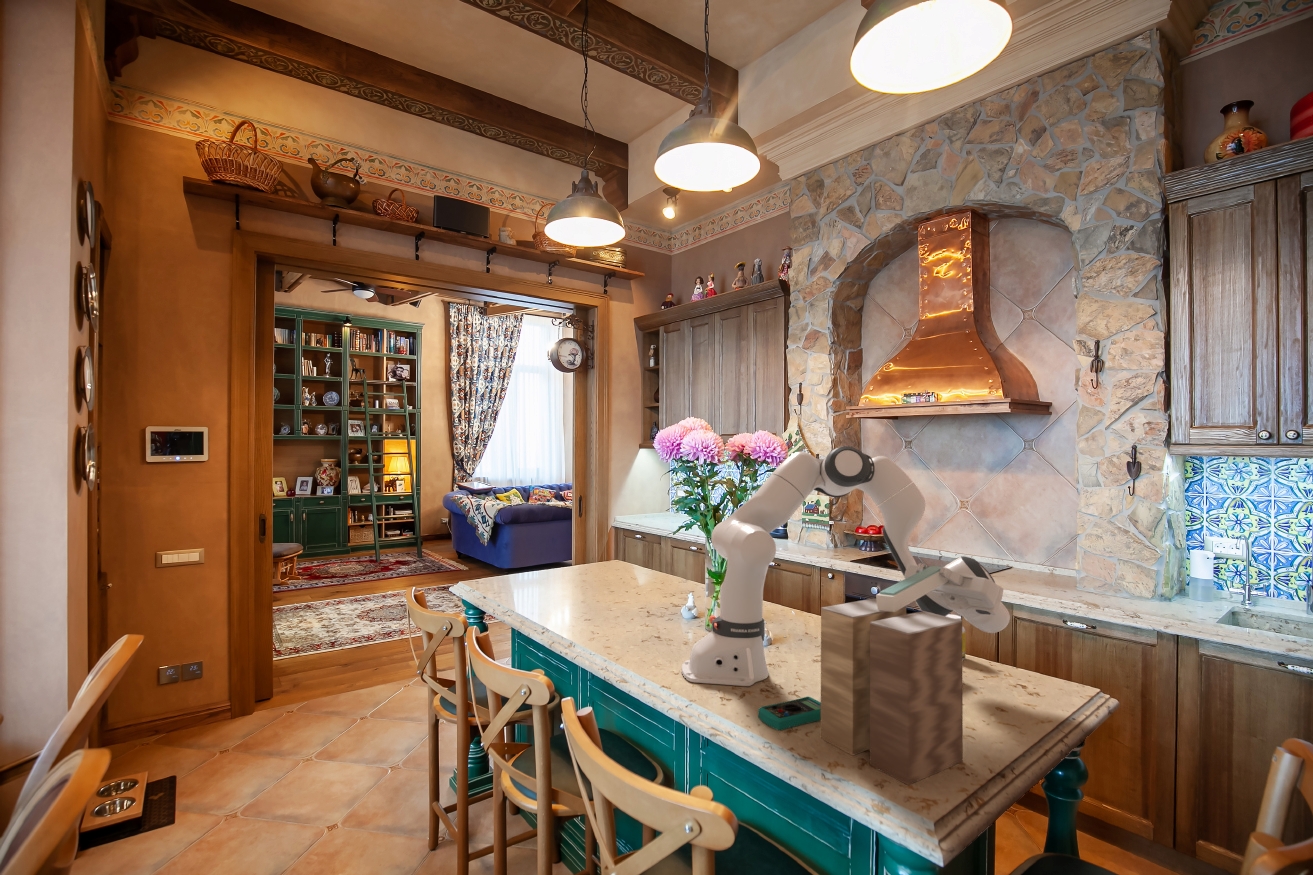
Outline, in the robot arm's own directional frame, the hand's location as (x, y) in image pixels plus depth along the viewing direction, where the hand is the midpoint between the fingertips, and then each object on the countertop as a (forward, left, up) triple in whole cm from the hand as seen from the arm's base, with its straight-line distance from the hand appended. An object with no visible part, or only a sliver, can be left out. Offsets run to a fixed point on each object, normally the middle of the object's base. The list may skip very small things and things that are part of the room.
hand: (931, 568), depth 135 cm
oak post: (-19, -11, -32) cm, 39 cm away
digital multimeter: (-31, -2, -32) cm, 45 cm away
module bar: (-7, -6, -4) cm, 10 cm away
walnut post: (-13, -22, -32) cm, 41 cm away
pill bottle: (+24, +36, -32) cm, 54 cm away
